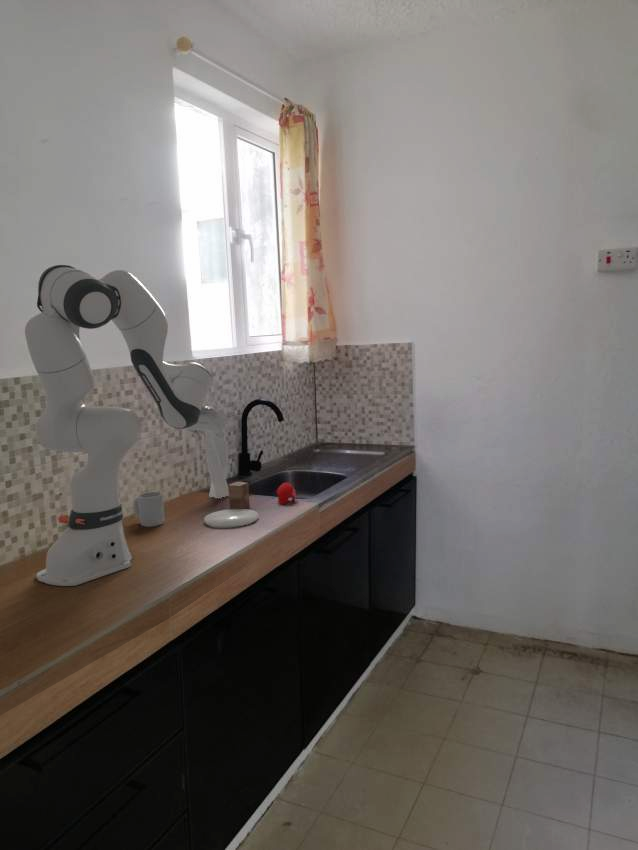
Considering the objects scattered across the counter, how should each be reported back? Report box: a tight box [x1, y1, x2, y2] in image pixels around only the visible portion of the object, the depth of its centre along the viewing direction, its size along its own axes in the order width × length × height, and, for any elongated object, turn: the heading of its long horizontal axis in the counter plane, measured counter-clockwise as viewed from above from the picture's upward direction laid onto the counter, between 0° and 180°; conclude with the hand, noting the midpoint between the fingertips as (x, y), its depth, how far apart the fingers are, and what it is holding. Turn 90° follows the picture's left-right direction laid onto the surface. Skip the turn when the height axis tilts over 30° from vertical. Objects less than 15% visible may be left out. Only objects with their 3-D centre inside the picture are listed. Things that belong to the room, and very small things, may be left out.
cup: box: [133, 491, 166, 528], centre depth 188 cm, size 7×10×9 cm
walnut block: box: [227, 481, 251, 509], centre depth 201 cm, size 4×4×8 cm
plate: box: [204, 508, 259, 529], centre depth 188 cm, size 16×16×1 cm
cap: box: [276, 482, 297, 505], centre depth 206 cm, size 8×6×6 cm
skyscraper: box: [204, 415, 229, 500], centre depth 216 cm, size 8×8×28 cm
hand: (210, 435), depth 186 cm, fingers open, 8 cm apart
